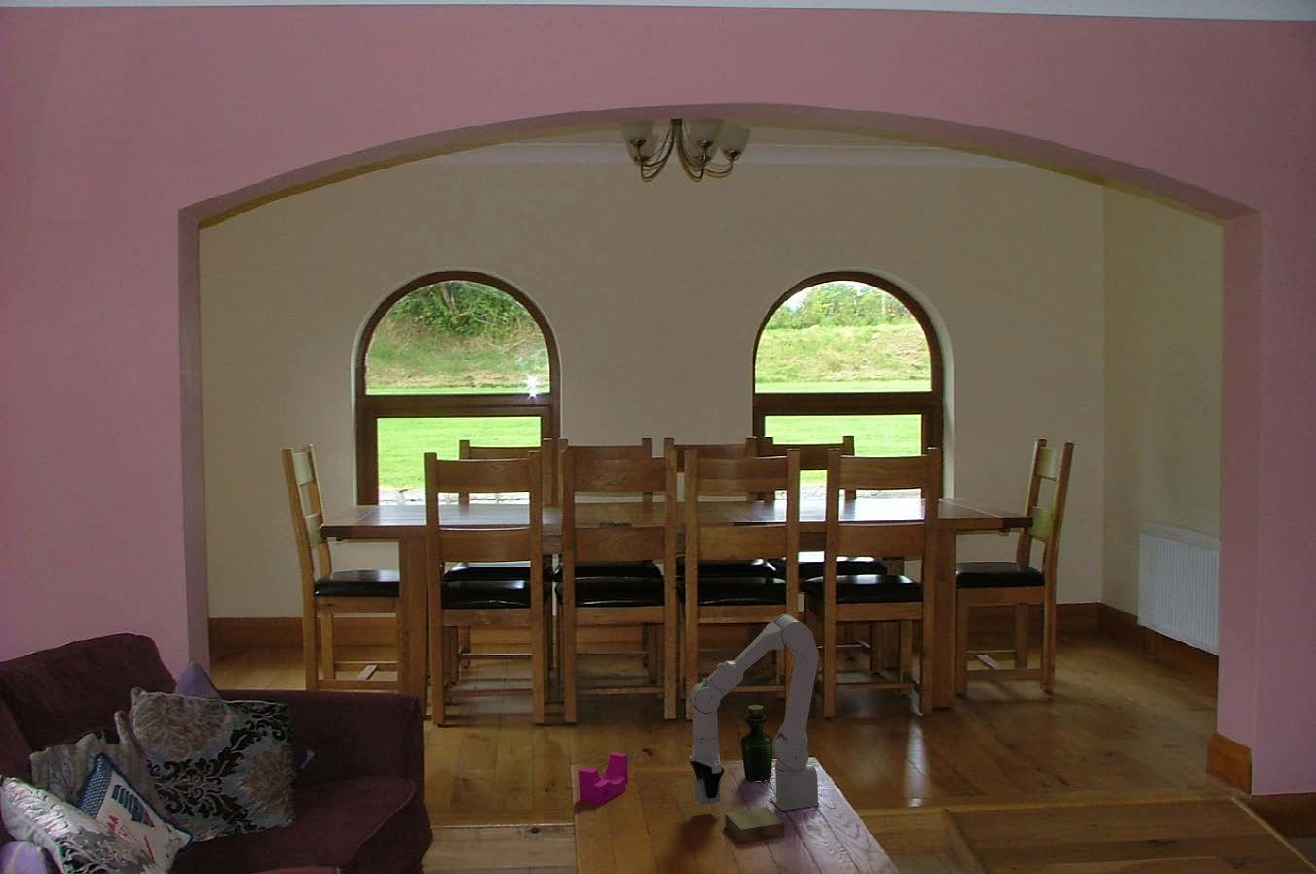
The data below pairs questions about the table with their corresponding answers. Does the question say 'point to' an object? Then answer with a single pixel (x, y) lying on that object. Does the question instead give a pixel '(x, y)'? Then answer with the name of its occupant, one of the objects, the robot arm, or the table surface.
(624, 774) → the toy block
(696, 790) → the gray cube
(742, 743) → the potion bottle
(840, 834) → the table surface
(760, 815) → the base block
